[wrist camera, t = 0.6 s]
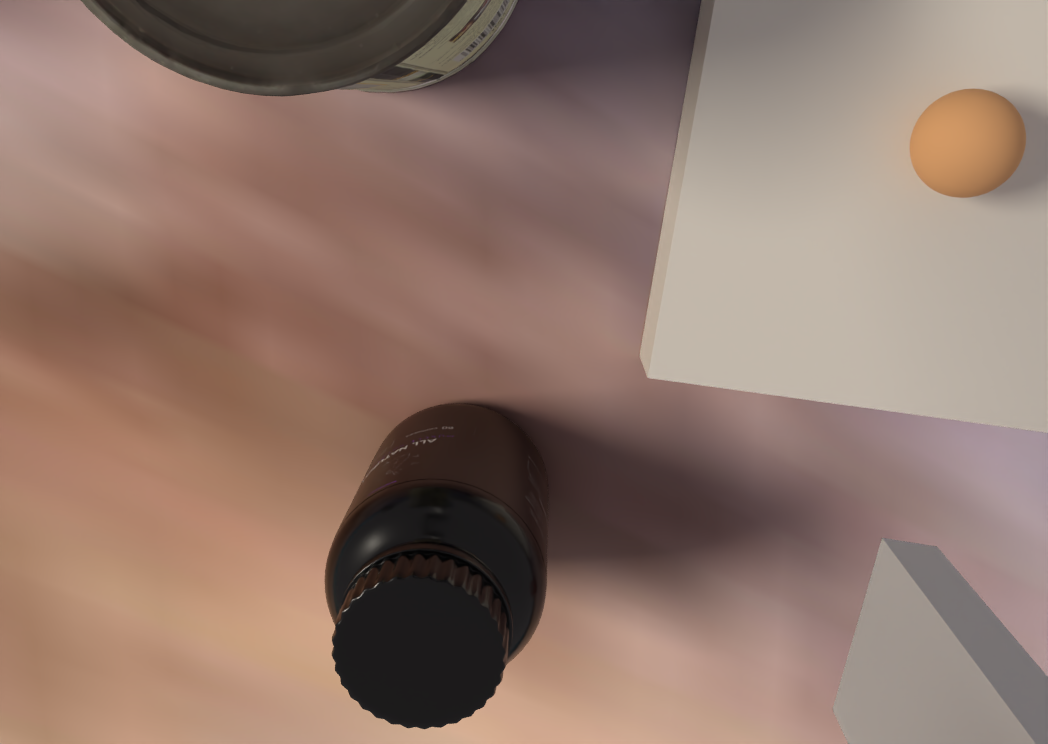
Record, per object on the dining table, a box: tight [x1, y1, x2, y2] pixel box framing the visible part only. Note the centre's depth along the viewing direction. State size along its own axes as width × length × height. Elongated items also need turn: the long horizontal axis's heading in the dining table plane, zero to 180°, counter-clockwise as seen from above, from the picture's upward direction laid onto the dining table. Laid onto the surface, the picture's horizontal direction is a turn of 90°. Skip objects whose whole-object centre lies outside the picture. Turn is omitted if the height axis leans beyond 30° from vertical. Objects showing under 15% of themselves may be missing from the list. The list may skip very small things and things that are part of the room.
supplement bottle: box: [325, 404, 549, 729], centre depth 32 cm, size 7×7×12 cm
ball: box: [910, 89, 1026, 198], centre depth 30 cm, size 3×3×3 cm
